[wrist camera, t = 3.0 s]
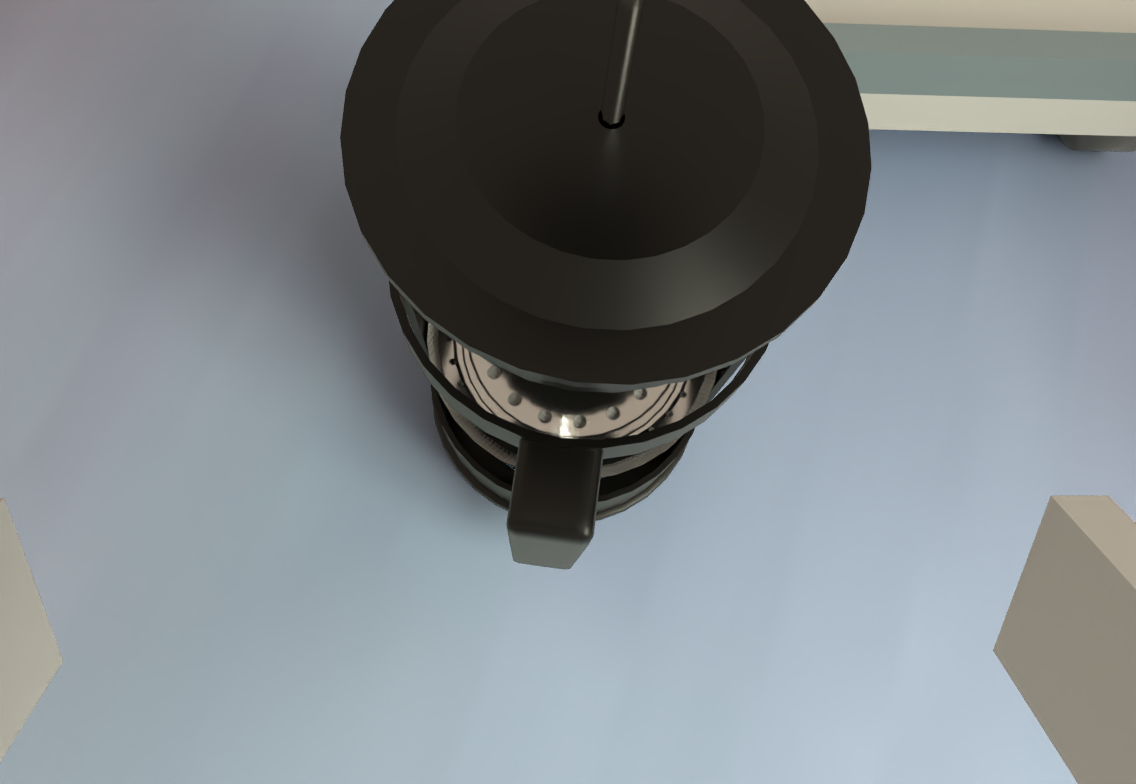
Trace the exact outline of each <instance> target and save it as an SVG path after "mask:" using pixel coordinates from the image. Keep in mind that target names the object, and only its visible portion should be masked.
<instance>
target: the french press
mask: <svg viewBox="0 0 1136 784" xmlns="http://www.w3.org/2000/svg"><path fill="white" fill-rule="evenodd" d="M340 139H341V148H342V158H343V167H344V177H345V185H346V188H347V191H348V194H349V197H350V200H351V203H352V206H353V209H354V212H355V215H356V218H357V221H358V223H359V226H360V229H361V232H362V235H363V237H364V239H365V241H366V243H367V244H368V246H369V248H370V249H371V251H372V252H373V254H374V256H375V257H376V259H377V261H378V262H379V264H380V266H381V267H382V269H383V271H384V272H385V274H386V276H387V277H388V279H389V285H390V293H391V298H392V301H393V304H394V307H395V310H396V313H397V316H398V319H399V322H400V325H401V327H402V330H403V333H404V336H405V338H406V340H407V343H408V345H409V348H410V350H411V352H412V354H413V355H414V357H415V359H416V360H417V362H418V364H419V365H420V367H421V369H422V370H423V372H424V374H425V375H426V377H427V379H428V380H429V382H430V383H431V390H432V401H433V409H434V417H435V423H436V426H437V429H438V432H439V435H440V438H441V441H442V443H443V446H444V448H445V450H446V452H447V454H448V455H449V457H450V459H451V460H452V462H453V464H454V465H455V467H456V469H457V470H458V472H459V473H460V474H461V475H462V476H463V477H464V478H465V479H466V480H467V481H468V483H469V484H470V485H471V486H472V487H473V488H474V489H475V490H476V491H477V492H479V493H480V494H482V495H483V496H484V497H486V498H487V499H488V500H490V501H491V502H492V503H494V504H495V505H496V506H499V507H501V508H503V509H505V510H507V511H508V518H507V530H508V535H509V541H510V546H511V552H512V557H513V561H515V562H518V563H522V564H530V565H537V566H544V567H551V568H558V569H570V568H571V567H572V565H573V564H574V563H575V562H576V560H577V559H578V558H579V556H580V555H581V554H582V552H583V551H584V550H585V549H586V547H587V546H588V544H589V543H590V541H591V539H592V538H593V535H594V527H595V521H597V520H602V519H604V518H607V517H610V516H612V515H615V514H618V513H620V512H623V511H625V510H627V509H629V508H630V507H632V506H633V505H635V504H637V503H638V502H640V501H641V500H643V499H645V498H646V497H648V496H649V495H650V494H651V493H652V492H653V491H654V490H655V489H656V488H657V487H658V486H659V485H660V484H661V483H662V482H663V481H664V480H665V479H666V478H667V477H668V476H669V474H670V473H671V471H672V470H673V469H674V467H675V466H676V464H677V463H678V461H679V460H680V459H681V457H682V455H683V453H684V450H685V448H686V446H687V443H688V441H689V439H690V437H691V436H692V434H693V431H694V429H695V427H696V426H698V425H700V424H701V423H703V422H704V421H706V420H707V419H708V418H709V417H710V416H711V415H712V414H713V413H714V412H715V411H716V410H717V409H718V408H719V407H720V406H721V405H722V404H724V403H725V402H726V401H727V400H728V399H729V398H730V397H731V396H732V395H733V394H734V392H735V391H736V390H737V389H738V388H739V387H740V386H741V385H742V384H743V382H744V381H745V380H746V378H747V377H748V376H749V374H750V373H751V371H752V370H753V368H754V367H755V365H756V364H757V363H758V361H759V360H760V358H761V357H762V355H763V354H764V352H765V351H766V349H767V347H768V344H769V342H771V341H773V340H774V339H776V338H778V337H779V336H780V335H781V334H782V333H783V332H784V331H785V330H786V329H787V328H788V327H789V326H790V325H792V324H793V323H794V322H795V321H796V320H797V319H798V318H799V317H800V316H801V315H802V314H803V313H804V312H805V311H806V310H808V309H809V308H810V307H811V306H812V305H813V304H814V303H815V302H816V301H817V300H818V298H819V297H820V296H821V294H822V293H823V291H824V290H825V288H826V287H827V286H828V284H829V283H830V281H831V280H832V278H833V277H834V275H835V274H836V272H837V271H838V270H839V268H840V267H841V265H842V264H843V262H844V261H845V259H846V258H847V256H848V253H849V251H850V248H851V246H852V243H853V241H854V238H855V236H856V233H857V231H858V228H859V226H860V223H861V220H862V218H863V215H864V212H865V205H866V199H867V192H868V186H869V180H870V173H871V156H870V141H869V127H868V120H867V116H866V113H865V109H864V106H863V102H862V99H861V96H860V92H859V89H858V85H857V82H856V78H855V76H854V74H853V73H852V71H851V69H850V67H849V65H848V63H847V61H846V59H845V57H844V55H843V53H842V51H841V50H840V48H839V46H838V44H837V42H836V40H835V38H834V37H833V35H832V34H831V33H830V32H829V30H828V29H827V28H826V27H825V25H824V24H823V23H822V22H821V20H820V19H819V18H818V16H817V15H816V14H815V13H814V11H813V10H812V9H811V8H810V6H809V5H808V4H807V3H806V1H805V0H394V1H393V2H392V3H391V4H390V5H389V6H388V7H387V8H386V10H385V11H384V13H383V14H382V16H381V18H380V19H379V21H378V22H377V24H376V26H375V27H374V29H373V30H372V32H371V34H370V35H369V37H368V38H367V40H366V42H365V43H364V45H363V46H362V48H361V51H360V53H359V56H358V59H357V62H356V65H355V67H354V70H353V73H352V76H351V79H350V81H349V84H348V87H347V90H346V95H345V103H344V112H343V120H342V128H341V137H340ZM407 315H408V317H409V319H408V317H407ZM409 320H410V322H409ZM410 323H411V325H412V328H413V331H414V333H415V335H414V333H413V331H412V328H411V325H410ZM746 357H747V358H746ZM745 358H746V360H745ZM744 360H745V363H744V365H743V366H742V367H741V369H740V370H739V372H738V373H737V375H736V376H735V377H734V379H733V380H732V382H731V383H730V384H729V385H728V386H727V387H725V388H724V389H723V390H722V391H721V392H720V393H719V394H718V395H717V396H716V397H715V398H714V399H713V397H714V396H715V395H716V394H717V393H718V391H719V390H720V389H721V388H722V386H723V385H724V384H725V383H726V382H727V380H728V379H729V378H730V377H731V375H732V374H733V373H734V372H735V371H736V369H737V368H738V367H739V366H740V364H741V363H742V362H743V361H744ZM712 399H713V400H712ZM711 400H712V401H711ZM499 459H500V460H502V461H504V462H506V463H508V464H510V465H513V466H515V471H514V470H513V469H511V468H510V467H509V466H507V465H506V464H504V463H503V462H502V461H500V460H499ZM606 476H607V477H606ZM601 477H604V478H601Z"/></svg>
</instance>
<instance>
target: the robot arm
mask: <svg viewBox="0 0 1136 784" xmlns="http://www.w3.org/2000/svg"><path fill="white" fill-rule="evenodd" d="M993 651H994V652H995V654H996V656H997V657H998V659H999V660H1000V662H1001V663H1002V665H1003V667H1004V668H1005V670H1006V671H1007V673H1008V674H1009V676H1010V678H1011V679H1012V681H1013V682H1014V684H1015V685H1016V687H1017V689H1018V690H1019V692H1020V693H1021V695H1022V696H1023V698H1024V700H1025V701H1026V703H1027V704H1028V706H1029V707H1030V709H1031V711H1032V712H1033V714H1034V715H1035V717H1036V718H1037V720H1038V722H1039V723H1040V725H1041V726H1042V728H1043V729H1044V731H1045V733H1046V734H1047V736H1048V737H1049V739H1050V740H1051V742H1052V743H1053V745H1054V747H1055V748H1056V750H1057V751H1058V753H1059V754H1060V756H1061V758H1062V759H1063V761H1064V762H1065V764H1066V765H1067V767H1068V769H1069V770H1070V772H1071V773H1072V775H1073V776H1074V778H1075V780H1076V781H1077V783H1078V784H1136V523H1135V522H1134V521H1133V520H1132V519H1131V518H1130V517H1129V516H1128V515H1127V514H1126V513H1125V512H1124V511H1123V510H1122V509H1121V508H1120V507H1119V506H1118V505H1117V504H1116V503H1115V502H1114V501H1113V500H1112V499H1111V498H1110V497H1109V496H1051V497H1050V499H1049V502H1048V505H1047V508H1046V510H1045V513H1044V516H1043V518H1042V521H1041V524H1040V526H1039V529H1038V532H1037V534H1036V537H1035V540H1034V542H1033V545H1032V548H1031V550H1030V553H1029V556H1028V558H1027V561H1026V564H1025V566H1024V569H1023V572H1022V574H1021V577H1020V580H1019V582H1018V585H1017V588H1016V590H1015V593H1014V596H1013V598H1012V601H1011V604H1010V607H1009V609H1008V612H1007V615H1006V617H1005V620H1004V623H1003V625H1002V628H1001V631H1000V633H999V636H998V639H997V641H996V644H995V647H994V649H993ZM62 662H63V659H62V656H61V654H60V651H59V648H58V645H57V643H56V640H55V637H54V634H53V631H52V629H51V626H50V623H49V620H48V618H47V615H46V612H45V609H44V606H43V604H42V601H41V598H40V595H39V593H38V590H37V587H36V584H35V582H34V579H33V576H32V573H31V570H30V568H29V565H28V562H27V559H26V557H25V554H24V551H23V548H22V545H21V543H20V540H19V537H18V534H17V532H16V529H15V526H14V523H13V520H12V518H11V515H10V512H9V509H8V507H7V504H6V501H5V498H0V762H1V760H2V759H3V757H4V756H5V754H6V752H7V751H8V749H9V747H10V746H11V744H12V743H13V741H14V739H15V738H16V736H17V735H18V733H19V731H20V730H21V728H22V727H23V725H24V723H25V722H26V720H27V719H28V717H29V715H30V714H31V712H32V711H33V709H34V707H35V706H36V704H37V702H38V701H39V699H40V698H41V696H42V694H43V693H44V691H45V690H46V688H47V686H48V685H49V683H50V682H51V680H52V678H53V677H54V675H55V674H56V672H57V670H58V669H59V667H60V666H61V664H62Z"/></svg>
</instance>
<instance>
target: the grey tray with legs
mask: <svg viewBox="0 0 1136 784" xmlns="http://www.w3.org/2000/svg"><path fill="white" fill-rule="evenodd" d="M805 1H806V3H807V4H808V5H809V6H810V8H811V9H812V10H813V11H814V13H815V14H816V15H817V16H818V18H819V19H820V20H821V22H822V23H823V24H824V25H825V27H826V28H827V29H828V30H829V32H830V33H831V34H832V35H833V37H834V38H835V40H836V42H837V44H838V46H839V48H840V50H841V51H842V53H843V55H844V57H845V59H846V61H847V63H848V65H849V67H850V69H851V71H852V73H853V74H854V76H855V78H856V82H857V85H858V89H859V92H860V96H861V99H862V102H863V106H864V109H865V113H866V116H867V120H868V127H869V129H883V130H919V131H956V132H993V133H1030V134H1059V137H1060V139H1061V141H1062V142H1063V143H1064V144H1065V145H1066V146H1067V147H1068V148H1070V149H1073V150H1084V151H1122V152H1130V151H1135V150H1136V0H805Z"/></svg>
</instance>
